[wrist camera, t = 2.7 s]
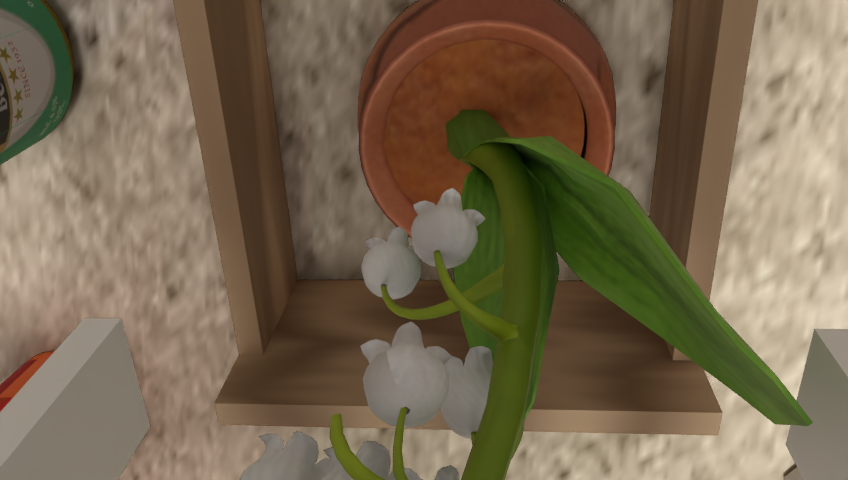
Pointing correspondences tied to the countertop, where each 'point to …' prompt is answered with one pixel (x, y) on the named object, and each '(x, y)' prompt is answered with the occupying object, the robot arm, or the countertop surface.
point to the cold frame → (371, 318)
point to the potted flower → (501, 232)
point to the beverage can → (31, 74)
